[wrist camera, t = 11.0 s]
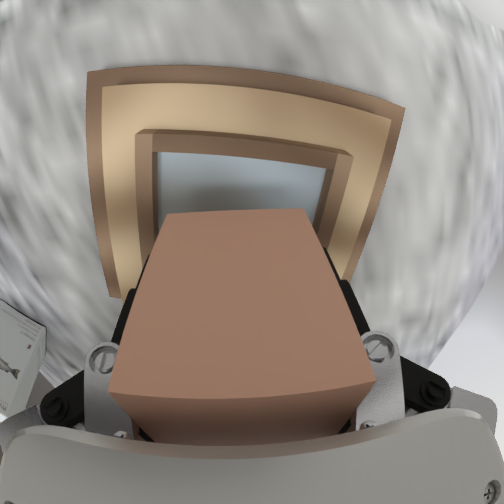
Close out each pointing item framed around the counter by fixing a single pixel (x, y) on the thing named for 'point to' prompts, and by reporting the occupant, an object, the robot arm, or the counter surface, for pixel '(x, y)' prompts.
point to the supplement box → (18, 359)
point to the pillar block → (239, 334)
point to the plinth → (231, 156)
